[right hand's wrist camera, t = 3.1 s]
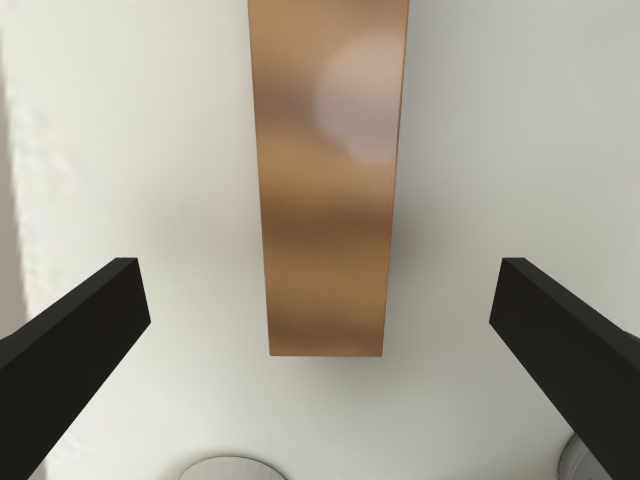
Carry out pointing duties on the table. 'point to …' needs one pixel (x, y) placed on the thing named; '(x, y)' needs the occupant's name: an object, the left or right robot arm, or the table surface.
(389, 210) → the post
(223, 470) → the flag stand
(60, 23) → the table surface
